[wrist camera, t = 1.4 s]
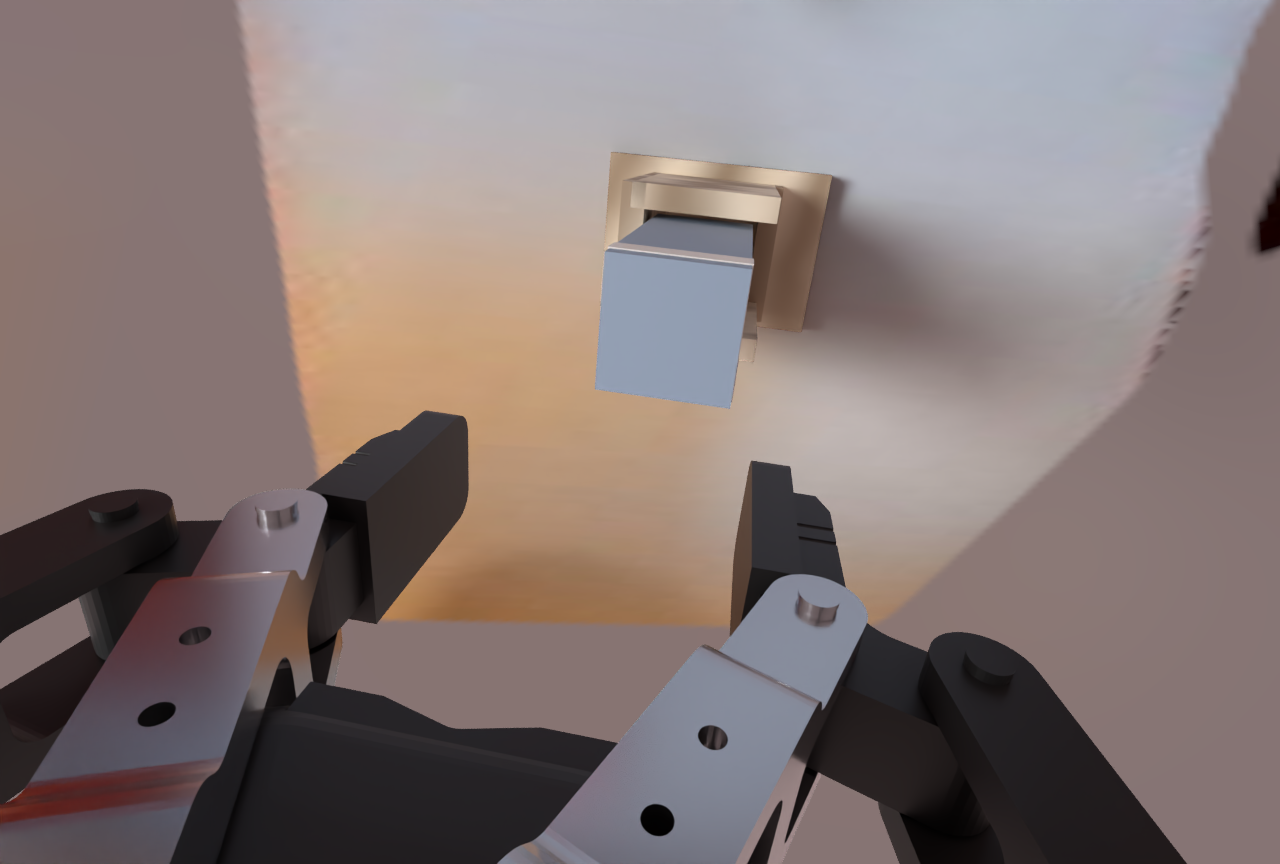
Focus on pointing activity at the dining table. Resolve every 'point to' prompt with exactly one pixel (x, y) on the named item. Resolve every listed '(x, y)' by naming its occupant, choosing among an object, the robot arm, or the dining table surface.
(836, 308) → the dining table surface
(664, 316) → the block
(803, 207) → the tan frame
